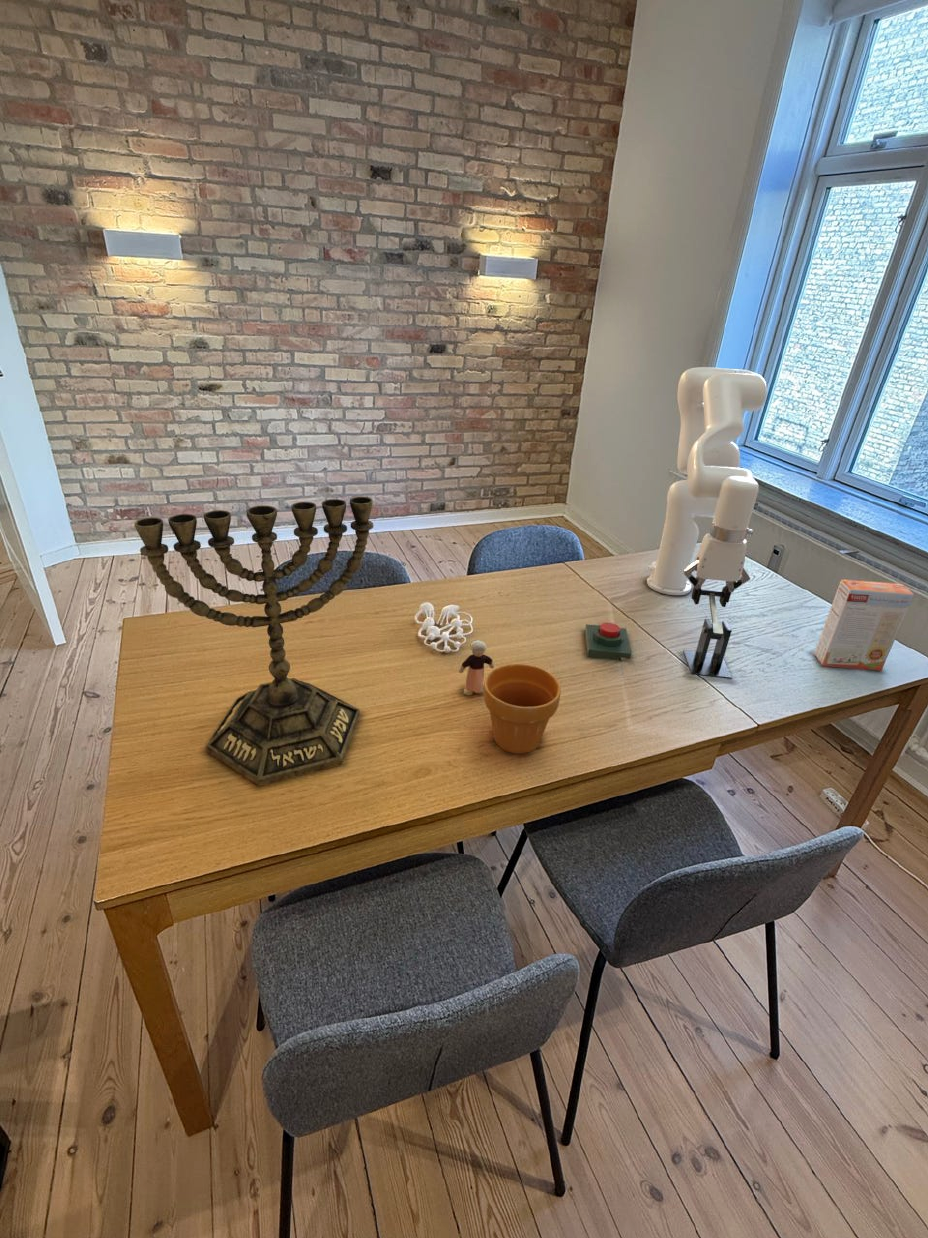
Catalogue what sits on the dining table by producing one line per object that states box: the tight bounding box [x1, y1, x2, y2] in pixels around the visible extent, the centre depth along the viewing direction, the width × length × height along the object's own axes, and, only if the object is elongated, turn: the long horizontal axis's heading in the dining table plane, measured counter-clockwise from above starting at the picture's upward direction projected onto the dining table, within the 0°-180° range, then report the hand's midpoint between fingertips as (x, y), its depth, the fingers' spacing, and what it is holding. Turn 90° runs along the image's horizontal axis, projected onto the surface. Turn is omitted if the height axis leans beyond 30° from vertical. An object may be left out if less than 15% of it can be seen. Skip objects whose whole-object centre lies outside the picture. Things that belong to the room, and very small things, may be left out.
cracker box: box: [813, 579, 915, 672], centre depth 150 cm, size 14×6×21 cm, turn 84°
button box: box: [584, 624, 632, 661], centre depth 156 cm, size 12×10×4 cm
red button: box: [599, 622, 621, 638], centre depth 154 cm, size 5×5×2 cm
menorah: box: [133, 496, 374, 787], centre depth 112 cm, size 36×25×45 cm
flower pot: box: [483, 663, 562, 754], centre depth 122 cm, size 14×14×13 cm
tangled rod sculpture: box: [414, 601, 474, 654], centre depth 157 cm, size 19×14×4 cm
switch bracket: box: [683, 618, 733, 680], centre depth 147 cm, size 10×9×12 cm
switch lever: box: [701, 589, 724, 640], centre depth 148 cm, size 13×6×2 cm, turn 174°
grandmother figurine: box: [458, 639, 495, 697], centre depth 135 cm, size 8×4×13 cm, turn 118°
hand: (708, 602), depth 153 cm, fingers open, 5 cm apart
